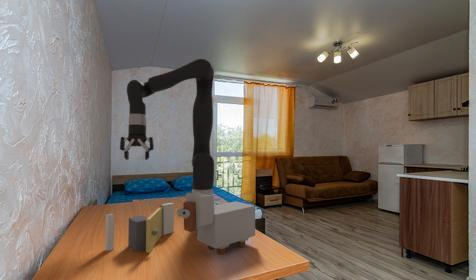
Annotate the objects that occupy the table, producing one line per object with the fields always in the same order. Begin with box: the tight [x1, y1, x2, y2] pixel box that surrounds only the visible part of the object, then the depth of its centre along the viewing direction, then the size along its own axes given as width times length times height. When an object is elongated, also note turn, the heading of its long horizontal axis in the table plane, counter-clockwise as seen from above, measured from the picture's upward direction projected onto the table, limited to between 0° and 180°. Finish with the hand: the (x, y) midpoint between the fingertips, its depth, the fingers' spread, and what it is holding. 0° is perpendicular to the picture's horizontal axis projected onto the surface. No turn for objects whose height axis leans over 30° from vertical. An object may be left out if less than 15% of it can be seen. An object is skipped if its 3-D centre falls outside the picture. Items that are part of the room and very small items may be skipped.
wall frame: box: [104, 202, 175, 252], centre depth 93 cm, size 26×2×12 cm, turn 137°
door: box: [145, 206, 163, 254], centre depth 89 cm, size 17×3×11 cm, turn 4°
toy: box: [176, 192, 256, 255], centre depth 83 cm, size 11×28×20 cm, turn 132°
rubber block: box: [127, 215, 148, 253], centre depth 86 cm, size 5×7×10 cm
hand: (136, 159), depth 111 cm, fingers open, 8 cm apart
